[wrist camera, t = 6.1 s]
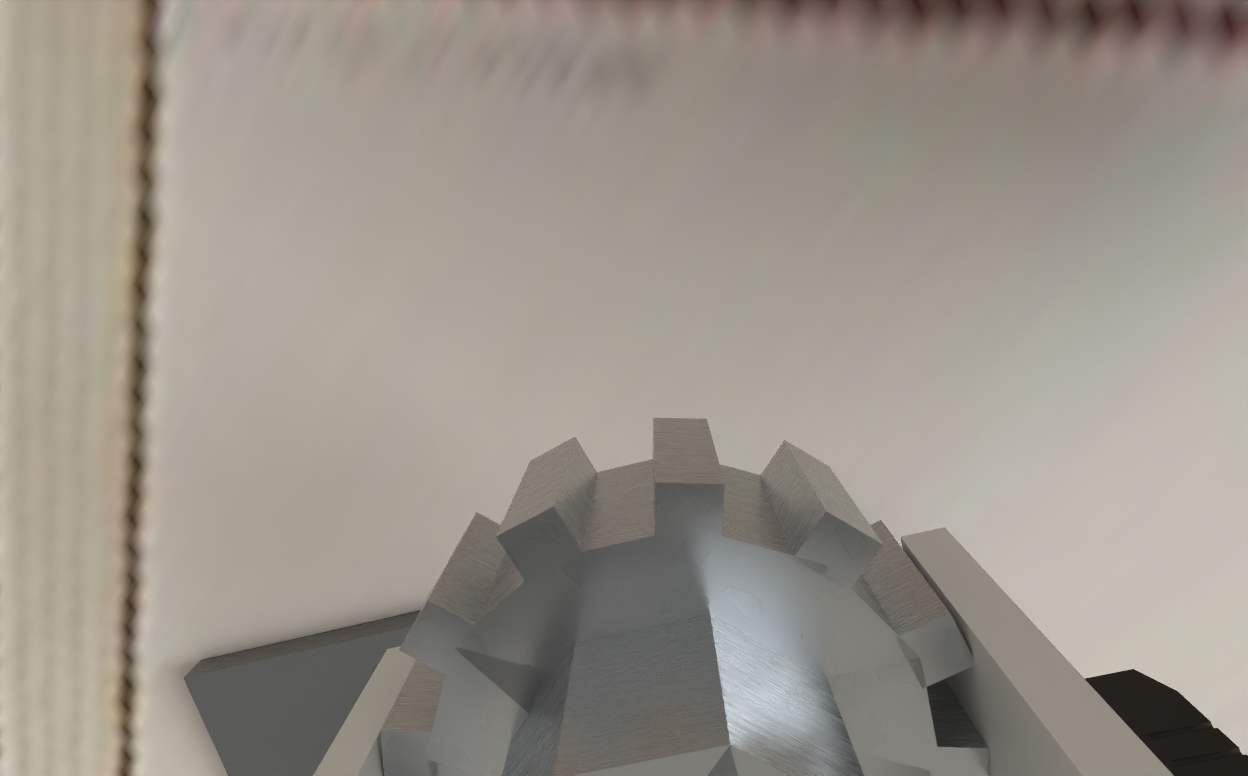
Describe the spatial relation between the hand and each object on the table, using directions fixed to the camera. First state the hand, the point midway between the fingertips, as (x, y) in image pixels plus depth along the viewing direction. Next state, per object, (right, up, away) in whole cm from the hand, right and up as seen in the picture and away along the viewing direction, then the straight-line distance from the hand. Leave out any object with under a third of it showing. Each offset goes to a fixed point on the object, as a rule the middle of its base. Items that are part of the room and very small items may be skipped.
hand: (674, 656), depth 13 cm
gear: (0, 0, 0) cm, 0 cm away
